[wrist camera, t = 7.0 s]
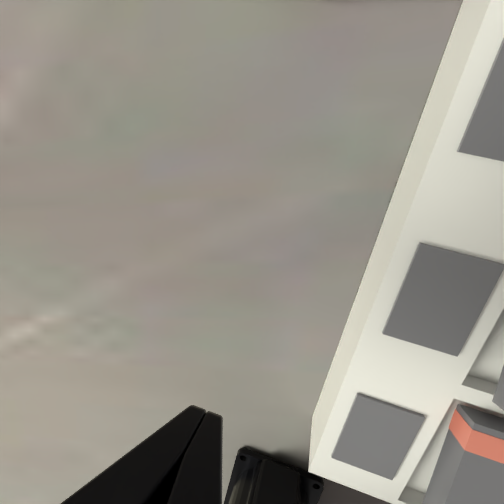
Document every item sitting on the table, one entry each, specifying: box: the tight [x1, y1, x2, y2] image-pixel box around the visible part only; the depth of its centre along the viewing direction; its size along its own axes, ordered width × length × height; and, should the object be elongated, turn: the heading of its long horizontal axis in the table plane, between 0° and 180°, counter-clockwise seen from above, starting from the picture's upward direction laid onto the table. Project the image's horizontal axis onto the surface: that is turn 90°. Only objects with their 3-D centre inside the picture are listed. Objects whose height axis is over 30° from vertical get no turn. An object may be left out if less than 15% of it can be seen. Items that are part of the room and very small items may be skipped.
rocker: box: [422, 404, 504, 504], centre depth 15 cm, size 6×3×2 cm, turn 168°
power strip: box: [308, 0, 504, 504], centre depth 15 cm, size 24×10×4 cm, turn 168°
